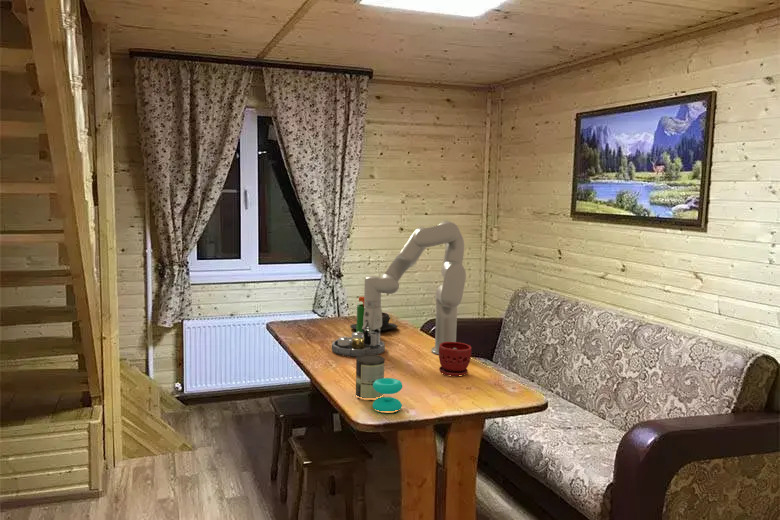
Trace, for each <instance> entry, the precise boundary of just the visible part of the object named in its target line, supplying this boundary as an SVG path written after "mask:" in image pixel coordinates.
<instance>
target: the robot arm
mask: <svg viewBox="0 0 780 520" xmlns="http://www.w3.org/2000/svg"><path fill="white" fill-rule="evenodd" d="M443 244H445V246H444V247H445V250H444V254H443V255H444V256H443V260H442V261H443V262H442V267H441V275H442V277H443V281H442V284H440V285H439V286H438V287H437V289H436V292H435V337H434V340H435V341H434V347H432V348H431V353H432V354H436V355H439V345H440V344H441V343H443V342H457V323H458V306H459V305H460V304H461V302H462V300H463V294H464V290H465V284H466V278H467V277H466V276H467V272H466V269H465V267H464V266H463V263H464V262H463V260H464V253H465V241H464V238H463V235H462V233H461V232H460V228H459V226H458V225H457V224H456V223H455V222H452V221H449V220H444V221H440V223H439V224H438V225H435V226H434V225H433V226H430V227H422V226H421V227H420V226H419V227H417V228H416V229H415V230H414V231H413V233H412V234H411V235H410V237H409V238H408V240H407V241H406V242H405V244H404V246H403V247H402V249H401V250H400V252H399V253H398V254H397V256H395V258H394V259H393V261H392V262H391V263H390V265H389V266H388V268H387V269H386V271H385V272H384V273H383V275H382V277H380V276H376V275H369V276H366V277H365V278H364V292H363V293H364V296H363V297H364V307H365V309H364V317H363V327H362V331H363V333H364V334H363V335H364V344H368V345H370V344H371V336H370V333H371V330H374V331H376V332H378V333H379V332H380V328H381V327H382V312H383V310H382V309H383V308H382V294H387V295H393V294H395V293H396V292H398V290H399V289H400V284H399V281H400V280H401V278H402V277H403V275H404V274H405V273H406V272H407V270H408V269H411V268H412V267H413V266H414V265H415V264H417V262H418V260H419V259H420V257H421V256H422V254H423V252H424V251H425V250H426V248H430V247H435V246H439V245H443ZM368 328H369V329H368ZM367 330H368V331H369V332H368V331H367ZM380 333H381V332H380ZM449 349H451V348H449ZM453 349H455V350H457V348H453Z"/></svg>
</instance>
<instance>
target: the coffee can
mask: <svg viewBox="0 0 780 520" xmlns="http://www.w3.org/2000/svg"><path fill="white" fill-rule="evenodd" d="M355 361H356V362H355V363H356V364H355V396H356V395H357V396H359V397H362V398H376V397H380V396H382V395H383V394H382V393H379V392H377V391H376V390H374V388H373V383H374V381H376V380H378V379H381V378H385V361H386V359H385V357H384V356H382V355H362V356H358V357H355Z"/></svg>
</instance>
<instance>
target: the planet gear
mask: <svg viewBox="0 0 780 520" xmlns="http://www.w3.org/2000/svg"><path fill="white" fill-rule="evenodd" d="M370 336H371V344H370V346H375V345H380V341H381V332H379V333H378V332H376V331H375V332H371V333H370ZM364 345H367V346H369V345H368V344H364Z"/></svg>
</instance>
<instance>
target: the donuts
mask: <svg viewBox="0 0 780 520" xmlns="http://www.w3.org/2000/svg"><path fill="white" fill-rule="evenodd" d="M373 388H374V390H376V391H377V392H379V393H382V394H384V395H393V394H397V393H399V392H401V391H402V389H403V383H402V381H401V380H399V379H396V378H392V377H384V378H381V379H378V380H376V381H374V383H373ZM402 406H403V403H402V402H401V401H400V400H399V399H398V398H395V397H392V396H384V397H381V398H378V399H376V400H375V401H372V409H373V408H374V409H376V410H379V411H395V410H399V409H402V408H401V407H402ZM374 409H373V410H374Z"/></svg>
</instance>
